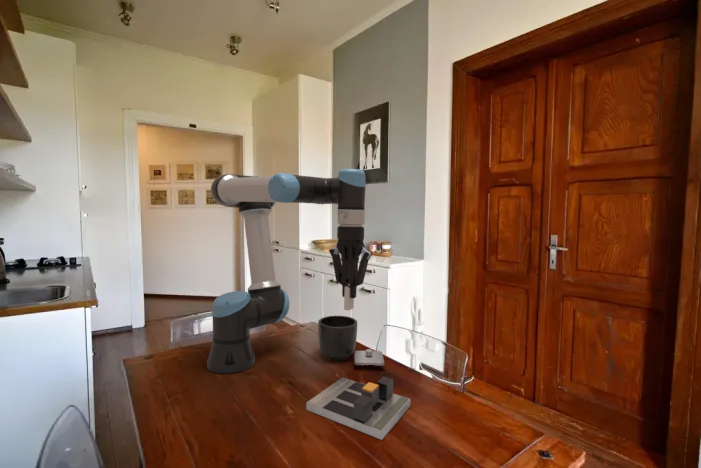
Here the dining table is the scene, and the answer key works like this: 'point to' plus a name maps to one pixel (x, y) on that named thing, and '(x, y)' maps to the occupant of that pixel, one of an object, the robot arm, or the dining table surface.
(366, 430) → the panel
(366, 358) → the light switch
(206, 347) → the dining table surface
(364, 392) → the block
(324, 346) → the planter
